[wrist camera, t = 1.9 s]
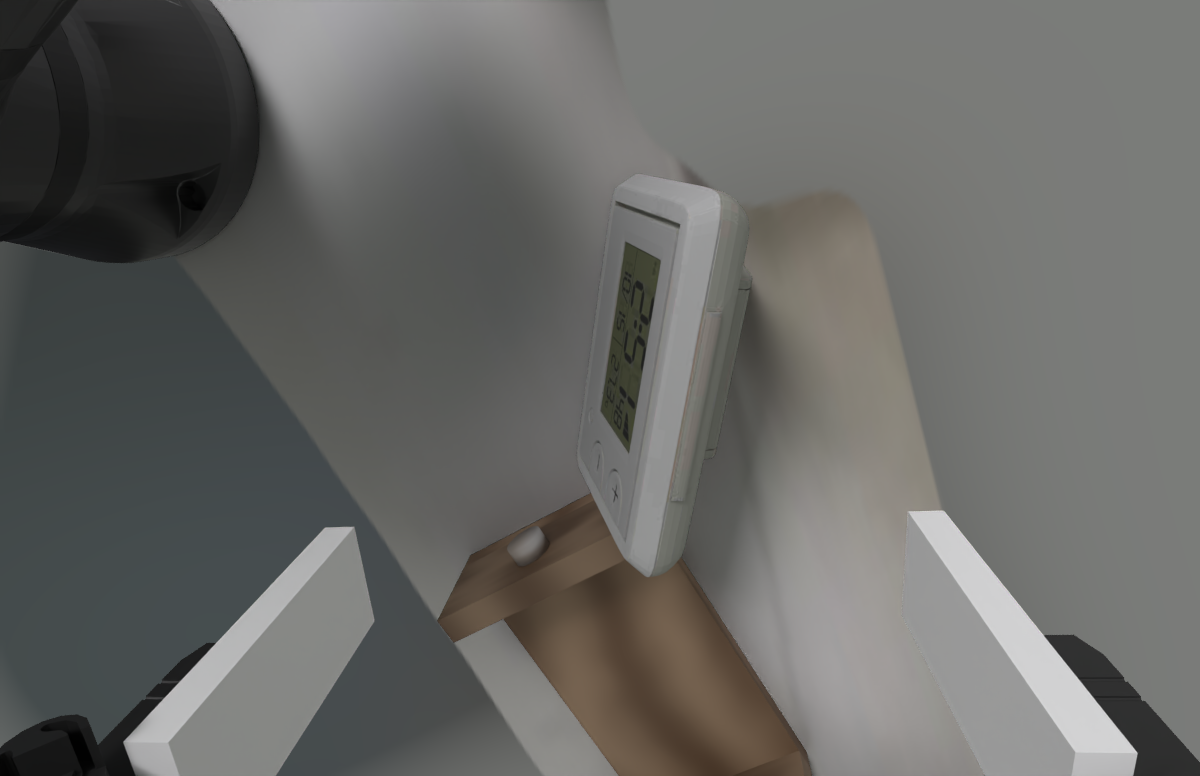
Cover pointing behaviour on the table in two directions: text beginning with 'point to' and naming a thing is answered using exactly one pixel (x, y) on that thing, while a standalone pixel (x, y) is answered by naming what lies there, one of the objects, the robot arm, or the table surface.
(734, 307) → the digital clock
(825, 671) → the table surface
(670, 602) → the walnut holder
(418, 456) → the table surface
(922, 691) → the table surface
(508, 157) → the table surface
